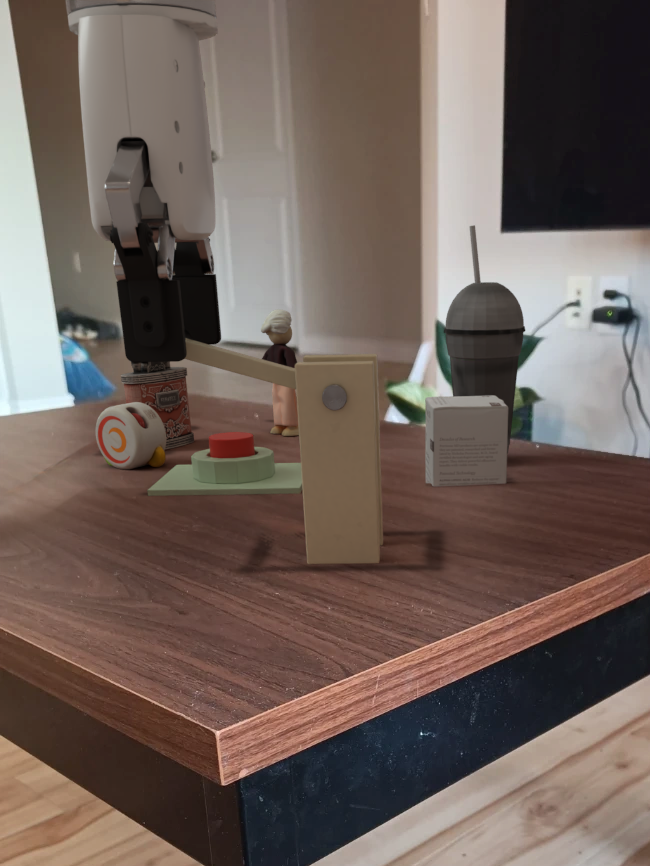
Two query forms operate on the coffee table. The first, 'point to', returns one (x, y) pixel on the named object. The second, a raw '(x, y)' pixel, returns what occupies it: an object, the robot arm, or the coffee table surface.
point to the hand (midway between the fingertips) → (177, 351)
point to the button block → (230, 476)
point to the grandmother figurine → (282, 354)
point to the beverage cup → (485, 339)
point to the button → (231, 445)
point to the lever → (239, 363)
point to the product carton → (466, 440)
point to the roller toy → (131, 436)
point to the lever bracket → (340, 457)
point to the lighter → (162, 397)
